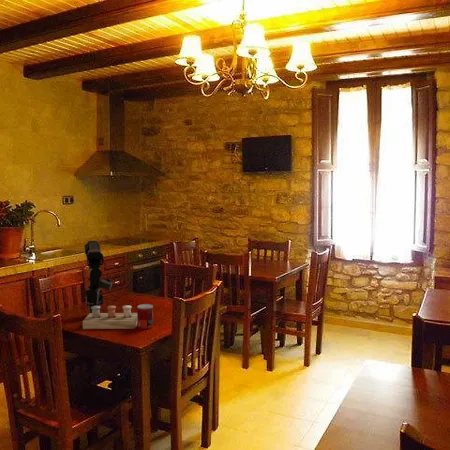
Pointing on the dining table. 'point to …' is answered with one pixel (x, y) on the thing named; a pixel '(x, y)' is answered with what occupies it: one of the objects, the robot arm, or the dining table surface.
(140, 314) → the canned food
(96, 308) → the grey plug
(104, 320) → the beech block
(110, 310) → the terracotta plug
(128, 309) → the cream plug
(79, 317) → the dining table surface
